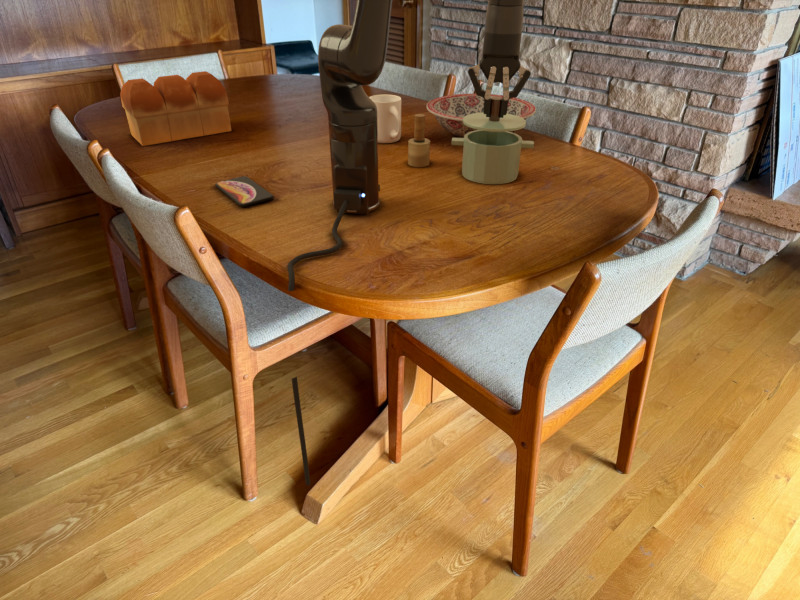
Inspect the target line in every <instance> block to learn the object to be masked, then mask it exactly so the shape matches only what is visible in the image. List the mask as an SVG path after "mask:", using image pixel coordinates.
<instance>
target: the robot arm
mask: <svg viewBox="0 0 800 600" xmlns="http://www.w3.org/2000/svg"><path fill="white" fill-rule="evenodd" d="M524 4H525V0H487V8H486V12H485V19H484V31H483V43H482V54H481V55H482V56H481V59H480V61H479V63H478V64H476V65H473V66H469V67H468V69H467V73H468V76H469V79H470V83H471V84H472V86H473V89H474V92H475V94H477V96H481V97H483V98H484V108H483V113H484V114H486V117H489V114H490V104H491V98H490V96H491V94H492V91H493V87H494V84H496V83H500V84H502V95H503V98H502V103H501V113H500V118H503V116H504V115H506V114H507V109H508V101H509V99H511V98H518V96H519V95H520V93H521V91H522V90H523V88H524V87H525V85H526V83H527V82H528V80H529V79H530V77H531V76H532V71H531V70H530V68H526V67H524V66H523V65H522V64H521V61H520V53H521V52H520V51H521V43H522V33H523V27H524V6H525V5H524ZM392 7H393V0H356V6H355V10H354V17H353V20H352V21H353V22H352V25H349V24H341V23H340V24H333V25H331V26H329V27H328V28H326V30H324V32H323V33H322V35H321V37H320V40H319V43H318V49H317V50H318V51H317V61H318V62H317V63H318V73H319V82H320V89H321V91H320V92H321V98H322V101H323V102H322V103H323V105H324V108H325V110H326V112H327V119H328V120H327V121H328V136H329V139H328V140H329V150H330V151H329V152H330V155H329V156H330V166H331V167H330V168H331V169H330V170H331V183H332V184H331V185H332V197H333V198H332V199H333V200H332V204H333V205H332V206H333V209H335V211H336V213H337V215H336V217H335V220H334V222H333V224H332V228H331V235H332V237H333V239H334V240H335V242H336V245H334V246H332V247H330V248H329V247H328V248H325V249H321V250H315V251H309V252H304V253H302V254H299V255H296V256H295V257H293V258H292V259H291V260H290V261H289V262H288V264H287V266H286V268H287V269H286V270H287V273H288V285H287V286H288V288H287V290H288V292H293V291H294V290H295V287H296V286H295V283H296V274H295V269H294V266H295V265H296V264H297V263H299V262H300V261H304V260H306V259H311V258H315V257H316V258H317V257H321V256H326V255H330V254H333V253H336V252H338V251H339V250H341V248H342V247H343V244H344V242H343V240H342V238H341V237H340V236H339V235H338V229H339V225H340V223H341V220H342V218H343V216H344V214H353V215H368V214H369V213H370V212H373V211H375V210H377V209H378V208H379V207H380V198H379V197H380V192H381V185H380V182H379V143H378V124H377V106H376V104H375V103H374V102H373V101H372V100H371V99H370V98H369V97H370V96H369V95H367V93H366V91H365V90H364V87H363V86H369V85H372V84H374V83H375V82H376V81H377V80H378V79H379V77H380V76H381V74H382V72H383V69H384V68H385V67H384V66H385V65H386V64H385V63H386V59H387V54H388V44H389V34H390V26H391V15H392ZM480 71H481V73H483V75H484V77H485V78H486V80H487V81H486V85H485V89H483V88H482V86H481V83H480V81H479V78H478V77H479V76H480ZM517 73H518V78H519V79H518V81H517V82H516V84H515V85H514V87H513V89H512V90H510V81H511V80H512V79H513V77H514V76H515V75H516V74H517ZM291 385H292V393H293V400H294V408H295V416H296V422H297V430H298V435H299V436H298V437H299V443H300V450H301V457H302V458H301V459H302V466H303V473H304V481H305V483H304V484H305V485H306V486H310V485H311V475H310V466H309V459H308V452H307V445H306V437H305V428H304V422H303V421H304V420H303V415H302V407H301V400H300V392H299V391H300V390H299V382H298V376H295V377H292V378H291Z"/></svg>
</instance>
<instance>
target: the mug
mask: <svg viewBox="0 0 800 600" xmlns="http://www.w3.org/2000/svg"><path fill="white" fill-rule="evenodd" d="M368 97H369V98H370V99H371V100H372V101H373V102H374V103H375V104H376V106H377V124H378V144H392V143H396V142H398V141H400V139H401V137H402V97H401V96H399V95H397V94H396V95H395V94H374V95H371V96H368Z"/></svg>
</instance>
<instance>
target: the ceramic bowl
mask: <svg viewBox="0 0 800 600" xmlns="http://www.w3.org/2000/svg"><path fill="white" fill-rule="evenodd" d="M492 97H499V98H503V94H494V93H491V96H490V98H492ZM483 108H484V98H483V97H481V96H477V94H476V93H457V94H448V95H444V96H439V97H436V98H434V99H433V98H432V99H431V100H429V101H428V102H427V103H426V110H427V111H428V112H429V113H430V114H433V116H434V117H435V120H436V121H437V122H438V124H439V125H440V126H441V127H442V128H443V129H444V130H445V131H446V132H448V133H450V134H452V135H453V136H456V137H459V138H464V135H465V134H467V133H468V132H472V131H476V130H478V129H474V128H470V127H468V126H466V125H464V124H463V118H464V117H465V116H467V115H469V114H474V113H482V112H483ZM536 111H537V109H536V106H535V105H534V104H533V103H531V102H529V101H527V100H525V99H522V98H519V97H516V98H511V99H509V101H508V109H507V114H511V115H515V116H519V117H521V118H523V119H524V120H525V121H526V120H527V119H528V118H530V117H532V116H533V115H535V114H536ZM509 132H512V133H515V131H509Z"/></svg>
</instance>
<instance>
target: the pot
mask: <svg viewBox="0 0 800 600" xmlns="http://www.w3.org/2000/svg"><path fill="white" fill-rule="evenodd" d="M451 146H462V161H461V162H462V163H461V175H462V176H463V178H465V179H466V180H468V181H471V182H473V183H479V184H483V185H503V184H508V183H511V182H514V181H515V180H517V179H518V176H519V170H520V163H521V154H522V149H534V148H535V142H534V140H523V138H522V136H520V135H519V134H517V133H515V132H509V131H506V132H489V131H482V130H476V131H472V132H468V133H467V134H465V135H464V137H452V138H451Z"/></svg>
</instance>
